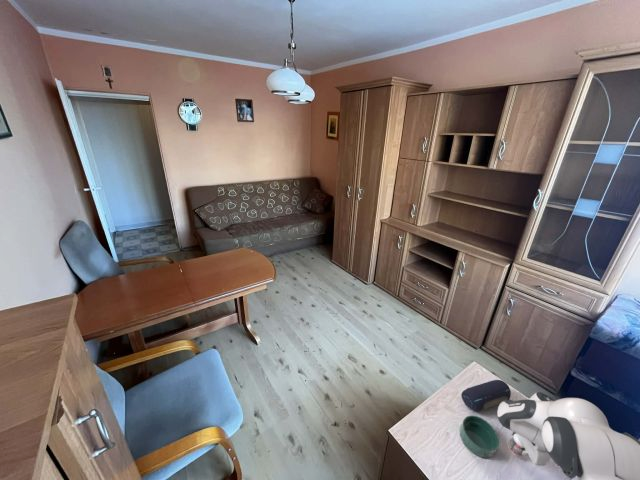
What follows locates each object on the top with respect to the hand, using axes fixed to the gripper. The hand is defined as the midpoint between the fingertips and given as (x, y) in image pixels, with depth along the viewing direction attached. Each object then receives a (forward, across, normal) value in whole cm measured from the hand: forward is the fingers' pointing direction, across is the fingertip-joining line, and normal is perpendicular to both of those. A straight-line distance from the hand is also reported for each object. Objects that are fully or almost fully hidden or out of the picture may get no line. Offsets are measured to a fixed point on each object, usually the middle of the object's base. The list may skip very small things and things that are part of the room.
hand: (518, 444), depth 111 cm
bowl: (+6, -4, -14) cm, 16 cm away
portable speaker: (+6, -22, -2) cm, 23 cm away
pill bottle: (+4, 0, 0) cm, 4 cm away
